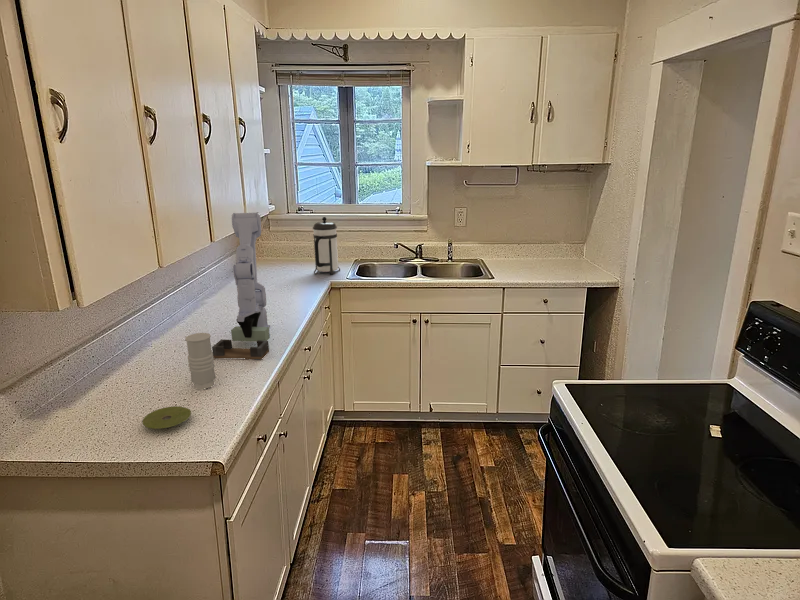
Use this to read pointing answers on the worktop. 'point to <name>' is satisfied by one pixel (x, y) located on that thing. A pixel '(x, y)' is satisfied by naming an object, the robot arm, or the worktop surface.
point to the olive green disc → (166, 417)
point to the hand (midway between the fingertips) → (250, 334)
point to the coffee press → (325, 246)
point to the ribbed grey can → (200, 360)
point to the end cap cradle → (240, 350)
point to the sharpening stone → (257, 334)
